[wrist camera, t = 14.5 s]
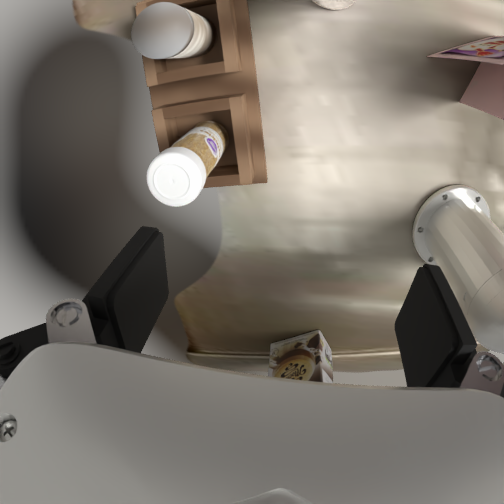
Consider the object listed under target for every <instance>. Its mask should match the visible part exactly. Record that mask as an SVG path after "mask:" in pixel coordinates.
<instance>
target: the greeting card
mask: <svg viewBox="0 0 504 504" xmlns="http://www.w3.org/2000/svg"><path fill="white" fill-rule="evenodd" d="M426 57H441V58H453V59H463V60H472V61H480V62H481V63H480V65H479V67H478V69H477V71H476V73H475V74H474V76H473V78H472V80H471V82H470V84H469V85H468V87H467V89H466V91H465V92H464V94H463V96H462V98H461V99H460V101H459V102H460V103H463V104H466V105H468V106H471V107H474V108H476V109H479V110H481V111H484V112H486V113H489V114H491V115H494V116H496V117H498V118H501V119H503V120H504V36H492V37H488V38H484V39H481V40H477V41H474V42H470V43H467V44H463V45H460V46H457V47H453V48H450V49H447V50H444V51H441V52H438V53H435V54H432V55H429V56H426Z"/></svg>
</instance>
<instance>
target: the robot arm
mask: <svg viewBox="0 0 504 504" xmlns="http://www.w3.org/2000/svg"><path fill="white" fill-rule="evenodd" d="M412 234H413V242H414V246H415V248H416V250H417V252H418V254H419V255H420V257H421V258H422V259H423V260H424V261H425V262H426V263H428V264H424V265H423V267H419V269H418V270H417V273H416V275H415V278H414V280H413V283H412V285H411V287H410V290H409V292H408V294H407V297H406V299H405V301H404V304H403V306H402V308H401V310H400V312H399V315H398V317H397V319H396V321H395V332H396V336H397V341H398V345H399V349H400V354H401V358H402V363H403V367H404V372H405V377H406V382H407V387H388V386H365V385H349V384H336V383H324V382H313V381H303V380H293V379H285V378H277V377H269V376H261V375H254V374H247V373H240V372H235V371H228V370H222V369H216V368H211V367H205V366H200V365H194V364H189V363H184V362H179V361H175V360H170V359H165V358H160V357H155V356H150V355H146V354H141V351H142V349H143V347H144V345H145V343H146V341H147V339H148V337H149V335H150V333H151V331H152V329H153V326H154V324H155V323H156V320H157V319H158V316H159V315H160V313H161V310H162V308H163V307H164V304H165V302H166V301H167V298H168V292H169V291H168V281H167V273H166V262H165V251H164V242H163V241H164V240H163V234H162V233H161V232H159V230H158V229H157V228H153V227H144V226H142V227H141V228H140V229H139V230H138V231H137V232H136V234H135V235H134V236H133V237H132V238H131V240H130V241H129V242H128V243H127V244H126V246H125V247H124V248H123V249H122V250H121V252H120V253H119V254H118V256H117V257H116V258H115V259H114V260H113V262H112V263H111V264H110V265H109V267H108V268H107V269H106V270H105V272H104V273H103V274H102V276H101V277H100V278H99V279H98V281H97V282H96V283H95V285H94V286H93V287H92V288H91V290H90V291H89V292H88V294H87V295H86V296H85V298H84V299H83V300H82V301H81V300H77V299H64V300H62V301H59V302H57V303H56V304H54V305H53V306H52V307H51V308H50V309H49V310H48V313H47V315H46V323H44V324H41V325H38V326H35V327H32V328H30V329H27V330H24V331H21V332H19V333H16V334H13V335H10V336H7V337H5V338H3V339H1V340H0V504H504V363H503V364H502V362H501V361H500V360H499V359H498V358H497V357H496V356H495V355H493V354H491V353H489V352H479V353H477V352H476V349H475V348H476V346H477V343H476V341H475V338H476V340H477V341H478V342H479V343H480V344H481V345H482V346H484V347H485V348H487V349H489V350H491V351H494V352H498V353H502V354H504V234H503V233H502V232H501V230H500V229H499V228H498V227H497V226H496V225H495V224H494V223H493V222H492V221H491V220H490V210H489V207H488V204H487V202H486V200H485V199H484V197H483V196H482V195H481V194H480V193H479V192H477V191H476V190H475V189H473V188H471V187H469V186H465V185H452V186H448V187H445V188H443V189H440V190H438V191H437V192H436V193H434V194H433V195H431V196H430V197H429V198H428V199H427V200H426V201H425V203H424V204H423V205H422V207H421V208H420V210H419V212H418V214H417V216H416V218H415V221H414V224H413V231H412ZM472 333H473V334H472ZM473 335H474V336H473ZM474 337H475V338H474Z"/></svg>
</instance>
